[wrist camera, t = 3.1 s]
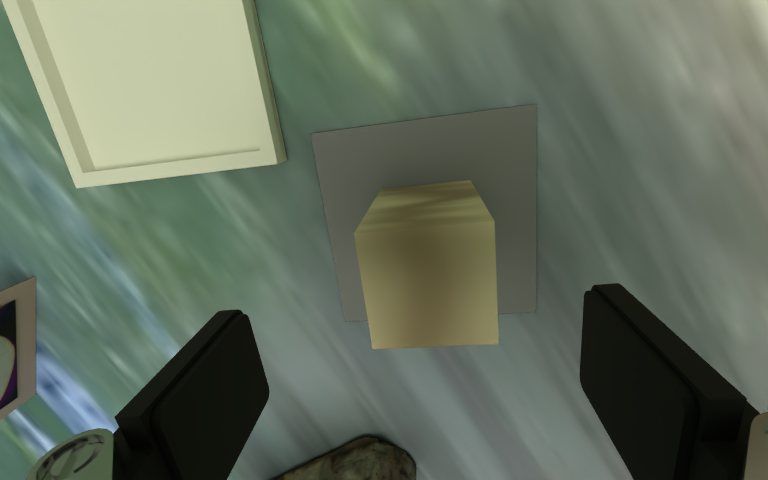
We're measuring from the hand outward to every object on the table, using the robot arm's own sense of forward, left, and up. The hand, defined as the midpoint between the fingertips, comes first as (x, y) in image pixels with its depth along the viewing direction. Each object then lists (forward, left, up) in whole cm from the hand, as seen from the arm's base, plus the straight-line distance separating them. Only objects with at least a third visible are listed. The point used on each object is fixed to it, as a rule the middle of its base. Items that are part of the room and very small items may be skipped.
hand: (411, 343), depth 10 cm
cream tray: (+14, -11, -12) cm, 21 cm away
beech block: (0, 0, -12) cm, 12 cm away
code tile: (0, 0, -12) cm, 12 cm away
